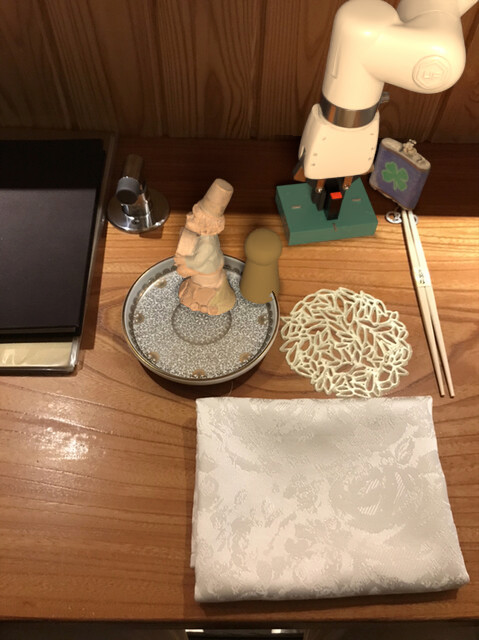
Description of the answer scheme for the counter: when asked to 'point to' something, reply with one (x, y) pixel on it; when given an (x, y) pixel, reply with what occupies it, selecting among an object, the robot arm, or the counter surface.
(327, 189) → the clamp handle
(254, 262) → the cork
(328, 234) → the base
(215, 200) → the figurine
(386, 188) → the flask
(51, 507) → the counter surface
